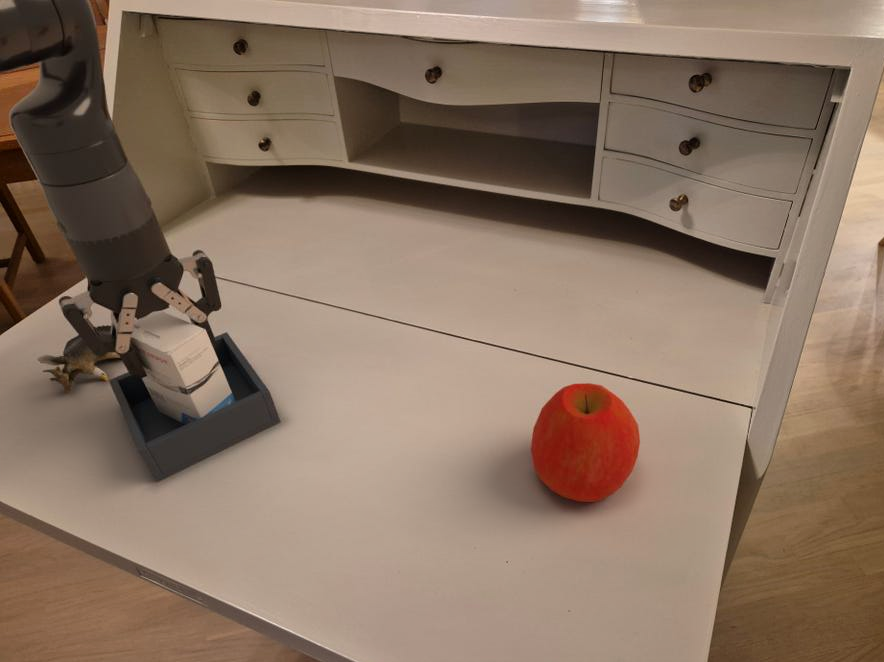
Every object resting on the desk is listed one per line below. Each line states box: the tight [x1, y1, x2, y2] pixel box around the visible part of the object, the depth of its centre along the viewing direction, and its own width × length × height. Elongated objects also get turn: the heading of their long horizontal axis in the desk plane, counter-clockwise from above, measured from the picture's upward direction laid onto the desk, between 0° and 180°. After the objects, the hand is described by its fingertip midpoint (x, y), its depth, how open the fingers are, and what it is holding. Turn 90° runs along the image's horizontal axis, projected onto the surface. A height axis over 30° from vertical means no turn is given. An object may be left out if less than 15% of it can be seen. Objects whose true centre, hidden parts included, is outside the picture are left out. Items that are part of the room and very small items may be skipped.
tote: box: [108, 331, 282, 483], centre depth 71 cm, size 14×14×5 cm
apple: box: [530, 382, 641, 503], centre depth 60 cm, size 10×10×10 cm
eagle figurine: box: [36, 324, 121, 394], centre depth 78 cm, size 8×7×9 cm
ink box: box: [130, 310, 236, 425], centre depth 68 cm, size 8×5×12 cm, turn 59°
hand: (174, 359), depth 67 cm, fingers closed on ink box, 6 cm apart
